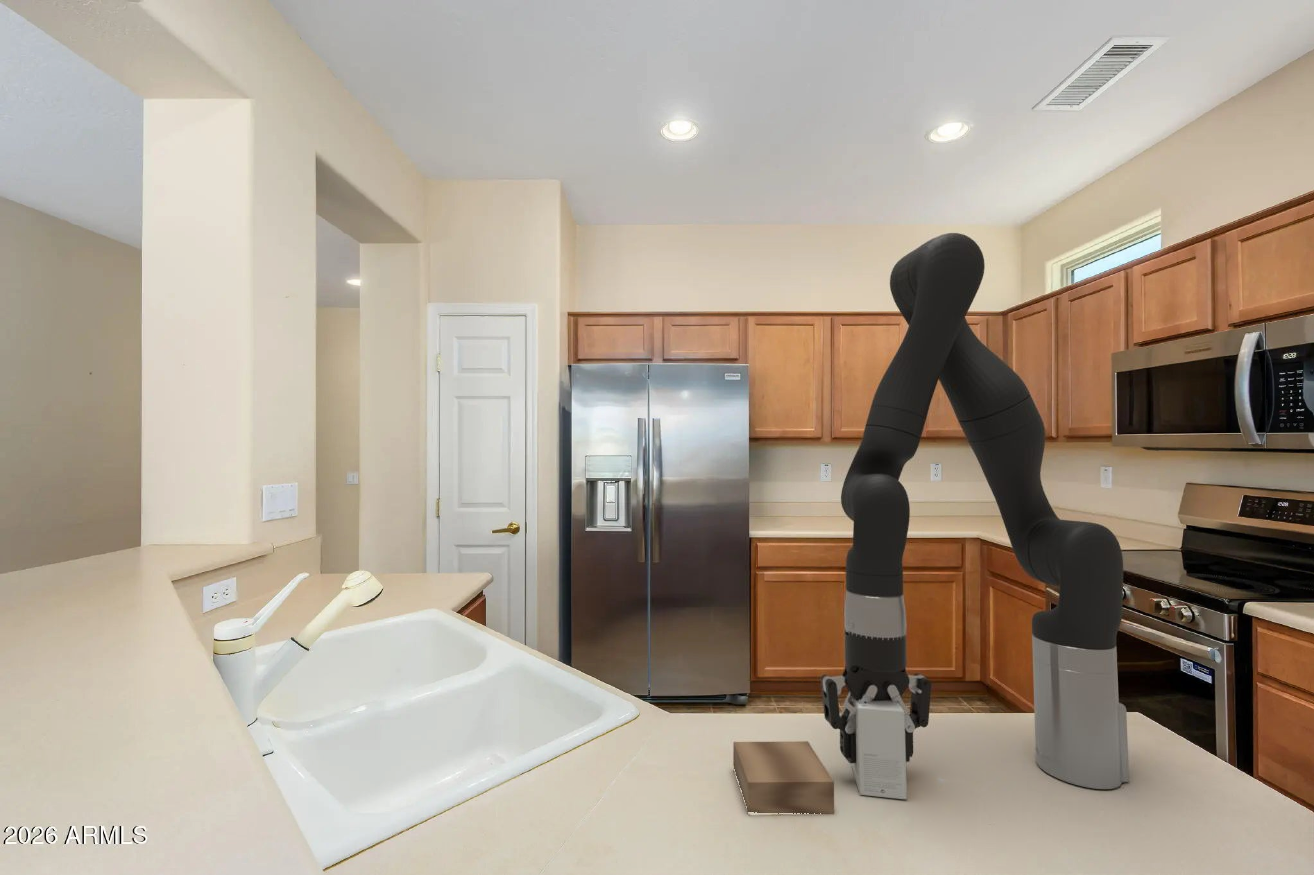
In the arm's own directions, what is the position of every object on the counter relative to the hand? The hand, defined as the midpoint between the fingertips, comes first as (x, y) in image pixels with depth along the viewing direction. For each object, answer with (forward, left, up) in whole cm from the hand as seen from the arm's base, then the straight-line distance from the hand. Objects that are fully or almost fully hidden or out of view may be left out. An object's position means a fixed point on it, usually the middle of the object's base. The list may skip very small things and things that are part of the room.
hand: (876, 759), depth 73 cm
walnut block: (+13, +1, -3) cm, 13 cm away
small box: (0, 0, -3) cm, 3 cm away
